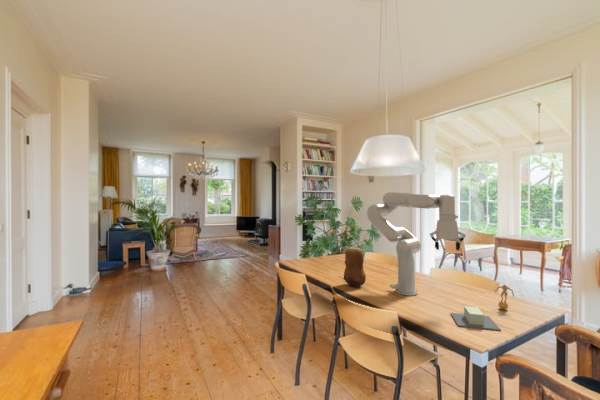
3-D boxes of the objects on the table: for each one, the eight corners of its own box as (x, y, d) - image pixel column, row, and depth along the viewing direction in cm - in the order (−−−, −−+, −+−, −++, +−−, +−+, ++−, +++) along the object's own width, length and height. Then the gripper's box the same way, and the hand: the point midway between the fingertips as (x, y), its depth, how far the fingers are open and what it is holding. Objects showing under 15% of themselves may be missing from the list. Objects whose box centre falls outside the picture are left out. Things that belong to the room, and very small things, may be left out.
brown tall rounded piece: (362, 282, 188) (362, 245, 188) (368, 289, 174) (367, 248, 174) (342, 283, 187) (341, 245, 187) (346, 289, 174) (345, 249, 174)
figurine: (492, 307, 142) (491, 284, 142) (497, 304, 146) (496, 281, 146) (511, 312, 136) (511, 288, 136) (516, 309, 139) (516, 285, 139)
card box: (464, 315, 131) (464, 306, 131) (477, 317, 130) (477, 307, 130) (469, 323, 123) (469, 313, 123) (484, 325, 121) (484, 315, 121)
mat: (458, 326, 122) (458, 325, 122) (450, 313, 135) (450, 312, 135) (500, 331, 117) (500, 329, 117) (488, 317, 130) (488, 316, 130)
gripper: (463, 217, 151) (463, 249, 151) (428, 217, 156) (428, 248, 156) (467, 218, 144) (467, 251, 144) (430, 218, 149) (430, 250, 149)
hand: (447, 249), depth 150 cm, fingers open, 9 cm apart
